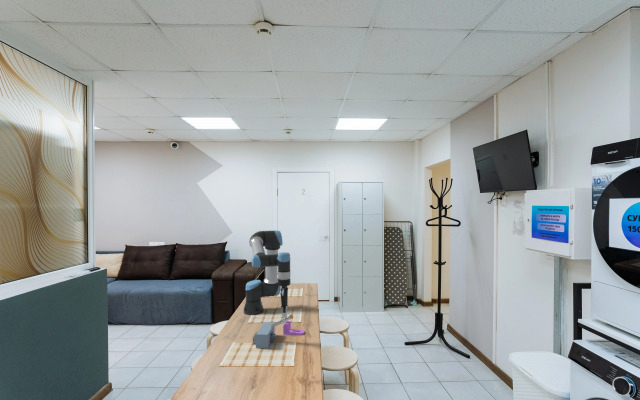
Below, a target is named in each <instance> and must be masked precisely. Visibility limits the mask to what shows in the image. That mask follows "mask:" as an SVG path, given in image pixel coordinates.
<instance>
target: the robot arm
mask: <svg viewBox="0 0 640 400" xmlns="http://www.w3.org/2000/svg"><path fill="white" fill-rule="evenodd" d="M283 243H284V242H283V236H282V232H281V231H280V230H275V229H274V230H259V231H256V232H255V233H253V234H252V235H251V236H250V238H249V246H250V248H251V249H252V254H253V255H252V256H251V267H252V268H265V269H266V271H265V278H264V279H263V281H261V280H260V279H253V280H250V281H247V283H246V284H245V303H244V307H243V314H244V315H249V316H254V315H255V316H256V315H259V314H261V313H263V312H264V306H263V305H264V304H263V303H262V298H269V297H277V296H279V295H280V304H281V306H280V308H281V315H282V317H281V318H282V319H285V318H287V317H288V307H289V304H288V302H289V301H288V300H289V299H288V297H289V296H288V294H289V292H288V291H289V287H288V286H291V254H290V253H289V252H285V251H283V252H279V250H280V249H281V247H282V246H283ZM265 250H266V251H265Z"/></svg>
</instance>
